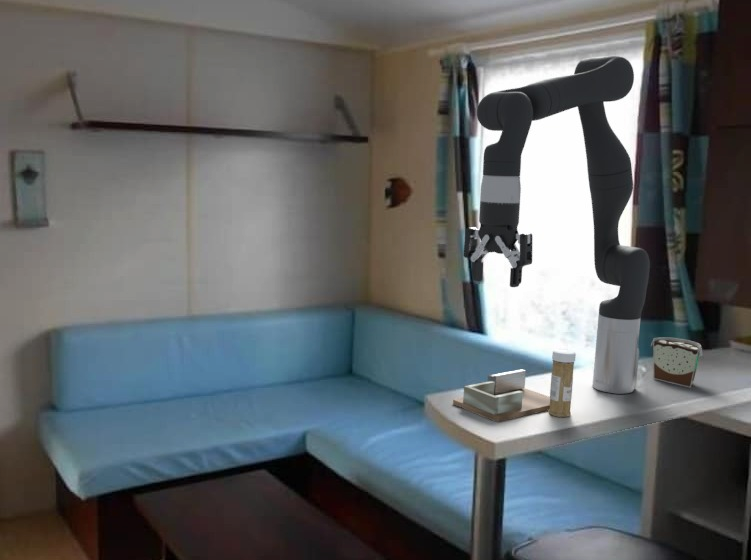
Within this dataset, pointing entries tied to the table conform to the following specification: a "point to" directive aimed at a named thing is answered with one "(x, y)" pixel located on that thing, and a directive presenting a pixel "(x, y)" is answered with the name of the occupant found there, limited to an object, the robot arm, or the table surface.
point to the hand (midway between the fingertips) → (495, 283)
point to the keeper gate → (508, 381)
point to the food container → (675, 360)
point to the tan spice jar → (561, 382)
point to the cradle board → (501, 402)
